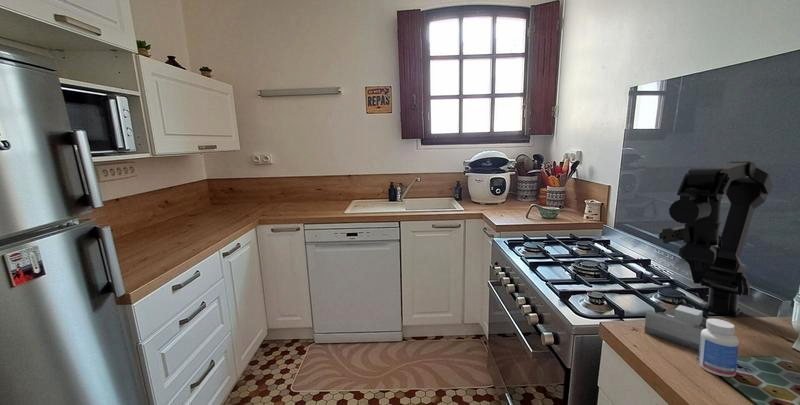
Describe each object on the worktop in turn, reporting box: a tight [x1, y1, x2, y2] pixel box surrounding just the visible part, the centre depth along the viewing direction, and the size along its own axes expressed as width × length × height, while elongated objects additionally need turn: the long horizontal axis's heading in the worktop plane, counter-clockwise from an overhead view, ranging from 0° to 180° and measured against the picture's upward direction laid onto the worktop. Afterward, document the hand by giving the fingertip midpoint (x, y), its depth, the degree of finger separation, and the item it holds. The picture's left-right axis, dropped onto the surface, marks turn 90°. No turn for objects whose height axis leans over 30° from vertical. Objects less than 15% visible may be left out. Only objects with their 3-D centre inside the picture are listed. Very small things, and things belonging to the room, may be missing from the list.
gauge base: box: [644, 308, 708, 352], centre depth 79 cm, size 17×10×5 cm, turn 124°
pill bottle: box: [698, 318, 740, 378], centre depth 64 cm, size 6×5×10 cm
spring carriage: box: [666, 304, 704, 325], centre depth 81 cm, size 4×7×3 cm, turn 34°
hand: (699, 278), depth 82 cm, fingers open, 9 cm apart
